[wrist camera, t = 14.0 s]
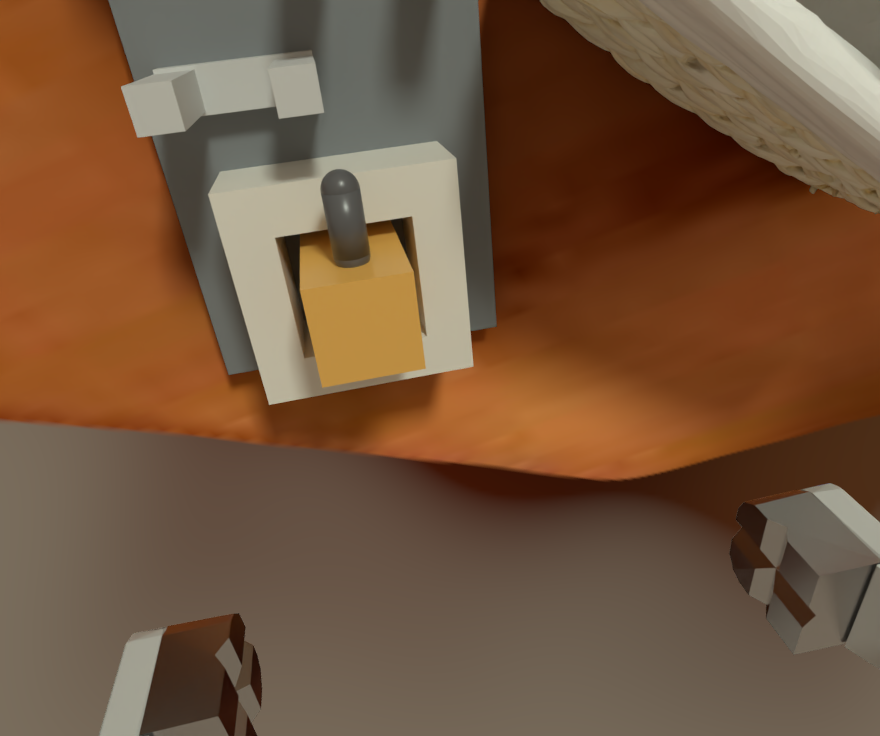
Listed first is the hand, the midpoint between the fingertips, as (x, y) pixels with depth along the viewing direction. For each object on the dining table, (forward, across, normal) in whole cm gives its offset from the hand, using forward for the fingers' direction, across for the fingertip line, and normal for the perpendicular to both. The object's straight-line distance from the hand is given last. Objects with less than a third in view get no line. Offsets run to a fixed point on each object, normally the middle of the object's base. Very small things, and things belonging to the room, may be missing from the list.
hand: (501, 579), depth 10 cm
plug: (+22, +2, +1) cm, 22 cm away
